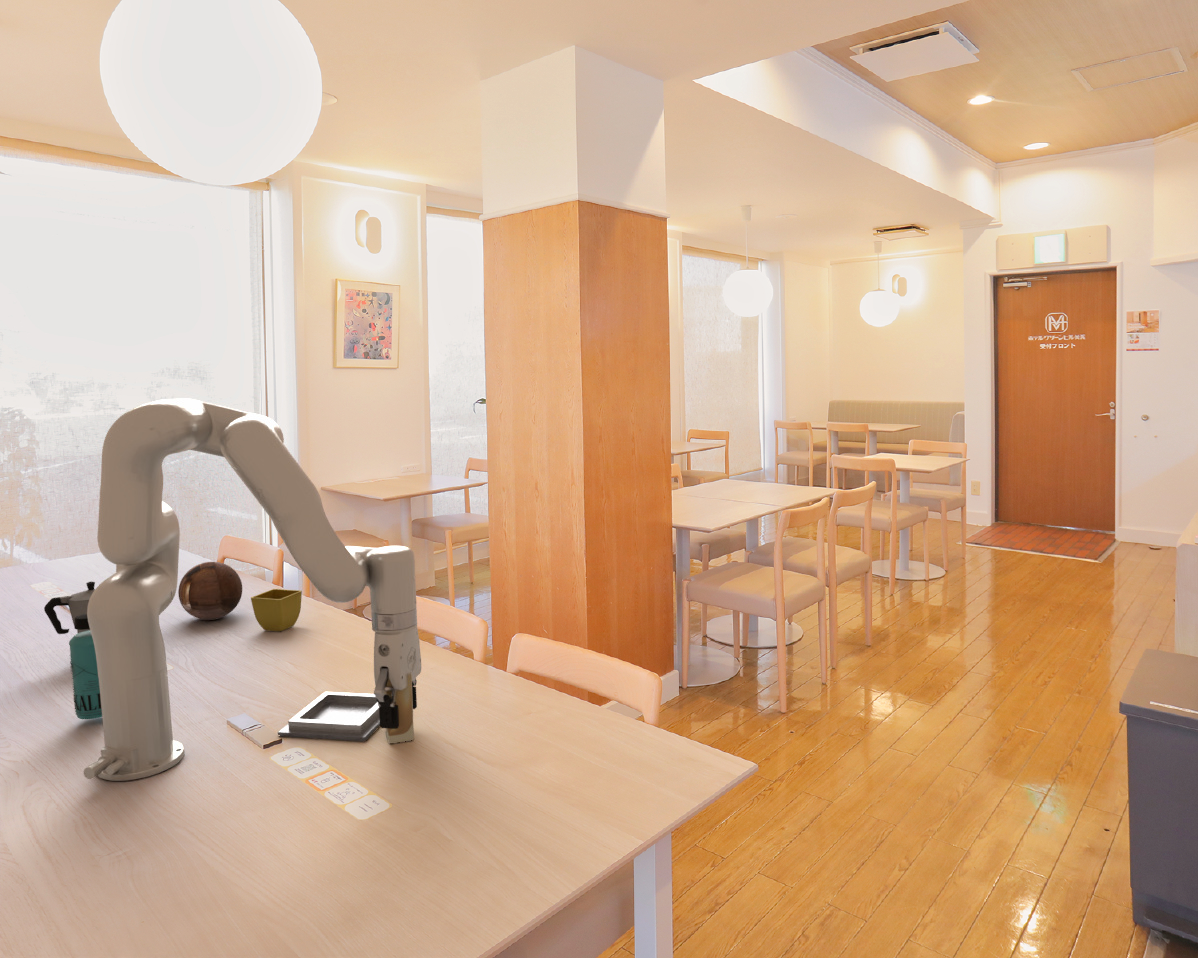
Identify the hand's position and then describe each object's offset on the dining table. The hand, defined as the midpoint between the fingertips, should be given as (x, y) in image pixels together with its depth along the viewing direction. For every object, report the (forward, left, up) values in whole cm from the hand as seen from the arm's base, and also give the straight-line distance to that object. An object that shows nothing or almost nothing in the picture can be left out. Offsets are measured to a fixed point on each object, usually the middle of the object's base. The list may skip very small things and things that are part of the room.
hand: (398, 716), depth 139 cm
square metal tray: (+5, +13, -3) cm, 14 cm away
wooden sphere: (+60, +76, -4) cm, 97 cm away
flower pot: (+54, +54, -4) cm, 76 cm away
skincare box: (0, 0, -4) cm, 4 cm away
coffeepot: (+27, +83, -4) cm, 87 cm away
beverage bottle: (-1, +58, -4) cm, 58 cm away
